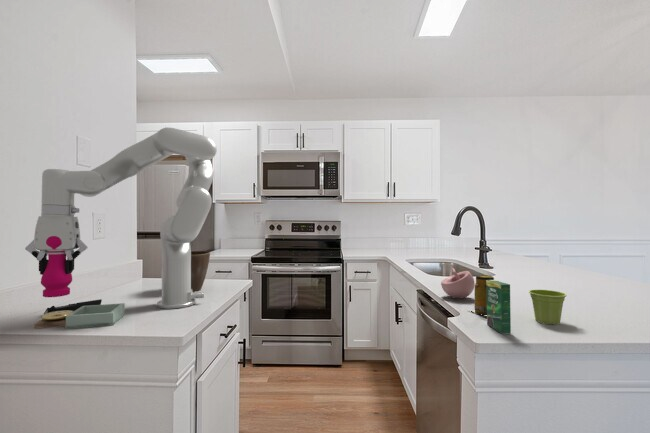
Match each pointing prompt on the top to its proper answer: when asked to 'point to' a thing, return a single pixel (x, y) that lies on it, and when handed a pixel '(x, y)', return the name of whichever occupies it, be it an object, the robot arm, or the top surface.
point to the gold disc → (56, 315)
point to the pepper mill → (55, 271)
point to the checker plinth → (50, 323)
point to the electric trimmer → (73, 306)
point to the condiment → (481, 294)
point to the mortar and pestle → (458, 284)
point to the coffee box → (498, 306)
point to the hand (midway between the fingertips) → (56, 272)
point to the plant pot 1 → (198, 268)
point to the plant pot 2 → (547, 305)
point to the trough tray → (95, 316)
